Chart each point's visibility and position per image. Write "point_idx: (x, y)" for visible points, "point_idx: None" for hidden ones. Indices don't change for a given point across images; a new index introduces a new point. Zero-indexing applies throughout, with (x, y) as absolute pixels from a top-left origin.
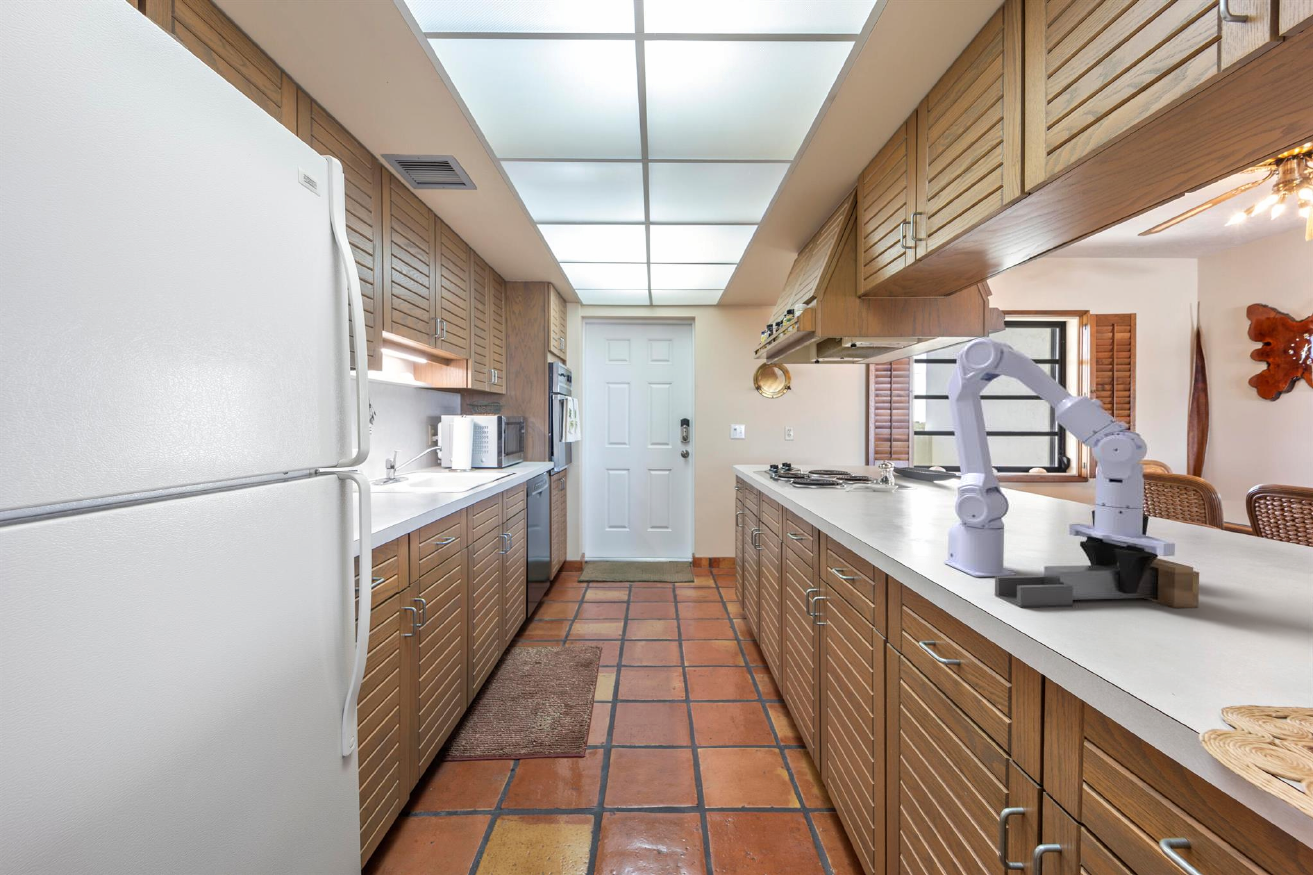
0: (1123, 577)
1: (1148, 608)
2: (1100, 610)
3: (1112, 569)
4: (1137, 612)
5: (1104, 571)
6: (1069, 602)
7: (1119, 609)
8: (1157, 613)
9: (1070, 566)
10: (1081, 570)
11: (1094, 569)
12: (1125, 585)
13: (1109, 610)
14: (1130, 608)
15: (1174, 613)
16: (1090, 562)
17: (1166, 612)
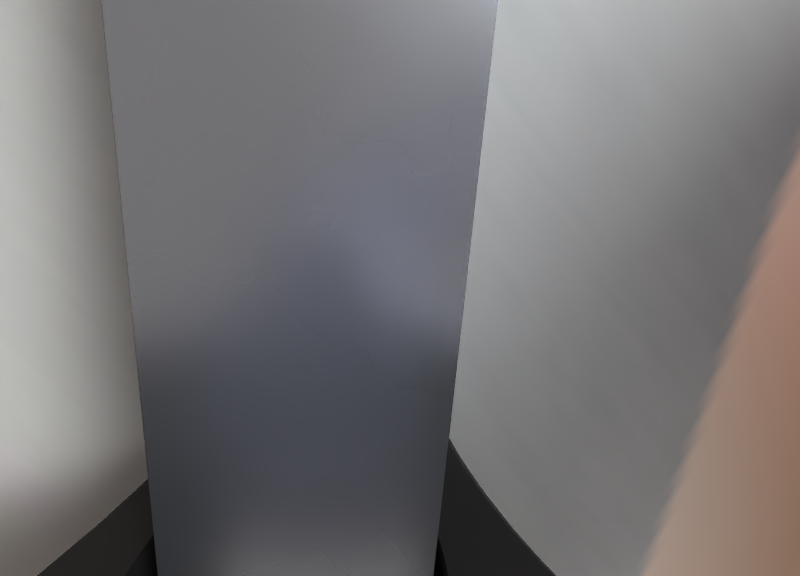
0: (109, 536)
1: (112, 465)
2: (40, 21)
3: (212, 570)
4: (13, 308)
5: (147, 408)
6: None
7: (79, 231)
8: (4, 430)
9: (444, 77)
10: (150, 13)
11: (220, 330)
12: (143, 488)
13: (47, 114)
14: (108, 341)
15: (15, 534)
16: (537, 566)
17: (32, 504)
